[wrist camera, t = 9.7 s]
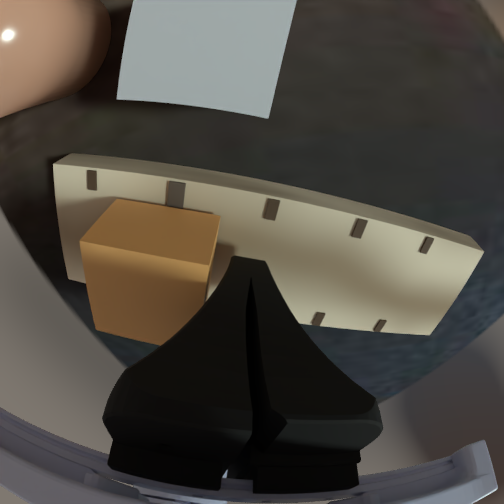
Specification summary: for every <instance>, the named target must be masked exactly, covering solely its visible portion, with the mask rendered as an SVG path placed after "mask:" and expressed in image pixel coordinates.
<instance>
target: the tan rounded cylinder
mask: <svg viewBox="0 0 504 504" xmlns="http://www.w3.org/2000/svg"><path fill="white" fill-rule="evenodd" d="M110 40H111V20H110V16H109V13H108V11H107V9H106V7H105V6H104V4H103V3H102V2H101V1H100V0H0V118H1V117H4V116H6V115H9V114H12V113H15V112H18V111H21V110H24V109H27V108H30V107H33V106H36V105H39V104H43V103H46V102H50V101H53V100H57V99H61V98H64V97H68V96H70V95H72V94H74V93H76V92H78V91H79V90H81V89H82V88H83V87H85V86H86V85H87V84H88V83H89V82H90V81H91V79H92V78H93V77H94V76H95V75H96V73H97V72H98V70H99V69H100V67H101V65H102V63H103V61H104V59H105V57H106V55H107V52H108V49H109V45H110Z"/></svg>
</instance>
